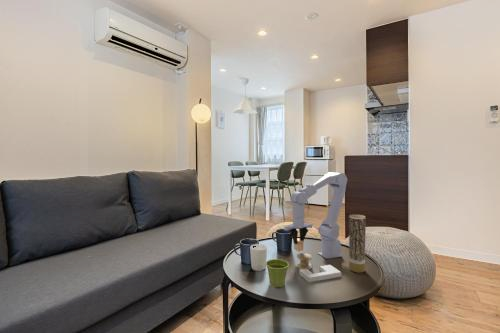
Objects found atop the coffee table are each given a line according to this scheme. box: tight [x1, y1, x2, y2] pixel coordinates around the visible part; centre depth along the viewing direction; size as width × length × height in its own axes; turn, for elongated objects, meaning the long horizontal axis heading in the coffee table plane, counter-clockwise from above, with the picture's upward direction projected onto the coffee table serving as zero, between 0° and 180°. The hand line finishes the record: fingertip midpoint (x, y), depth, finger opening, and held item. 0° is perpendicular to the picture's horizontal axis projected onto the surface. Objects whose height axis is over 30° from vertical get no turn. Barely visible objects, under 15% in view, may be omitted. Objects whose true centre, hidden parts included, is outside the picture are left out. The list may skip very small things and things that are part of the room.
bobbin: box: [296, 252, 313, 271], centre depth 122 cm, size 7×7×5 cm
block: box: [293, 237, 304, 252], centre depth 128 cm, size 3×4×5 cm
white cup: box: [249, 243, 268, 272], centre depth 121 cm, size 8×8×10 cm
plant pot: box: [266, 258, 290, 288], centre depth 106 cm, size 9×9×9 cm
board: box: [299, 264, 342, 283], centre depth 114 cm, size 16×8×2 cm, turn 108°
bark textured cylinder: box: [348, 214, 367, 274], centre depth 118 cm, size 7×7×25 cm
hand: (298, 243), depth 128 cm, fingers closed on block, 3 cm apart
